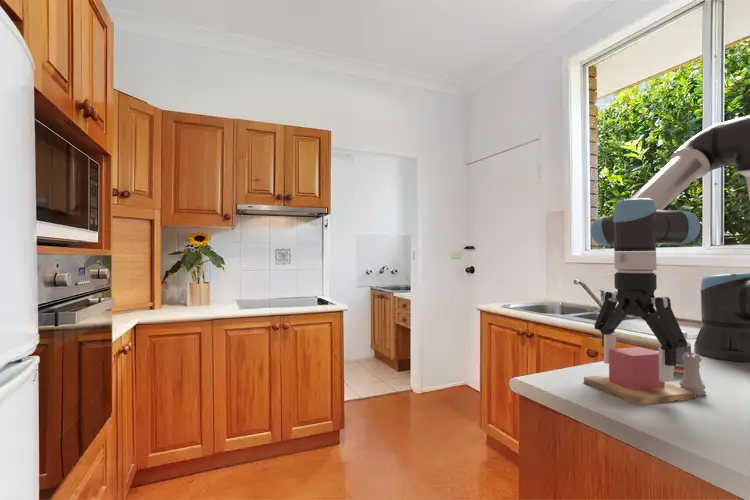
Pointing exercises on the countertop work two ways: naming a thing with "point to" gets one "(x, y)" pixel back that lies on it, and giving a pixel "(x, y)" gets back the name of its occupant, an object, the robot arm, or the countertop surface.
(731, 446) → the countertop surface
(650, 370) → the brick
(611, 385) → the base plate
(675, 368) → the pill bottle
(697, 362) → the rook chess piece
